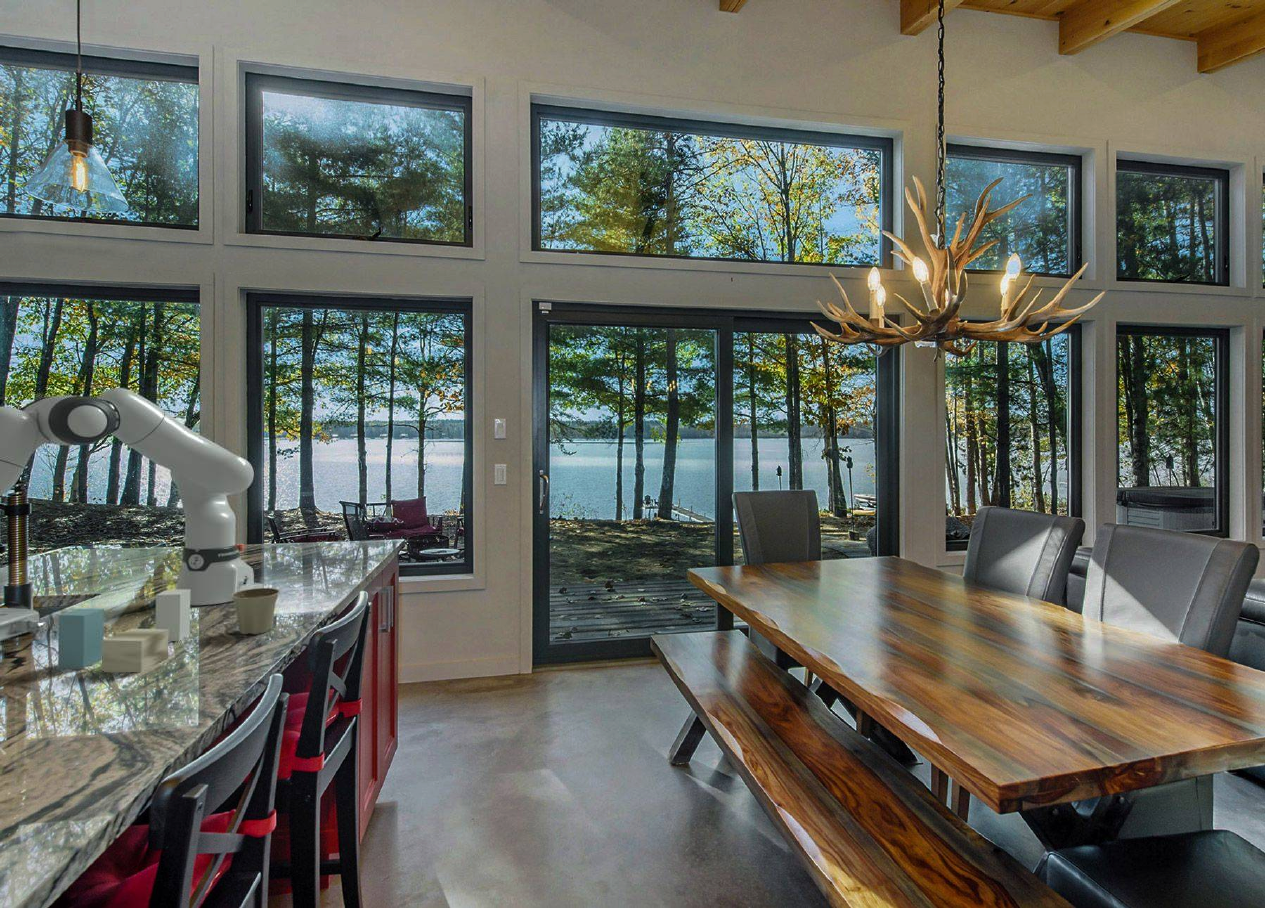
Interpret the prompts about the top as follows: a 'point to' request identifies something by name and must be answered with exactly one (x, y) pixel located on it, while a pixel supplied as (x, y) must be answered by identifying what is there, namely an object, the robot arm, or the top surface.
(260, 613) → the flower pot
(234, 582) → the robot arm
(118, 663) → the birch block
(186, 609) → the white block
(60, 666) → the teal block
